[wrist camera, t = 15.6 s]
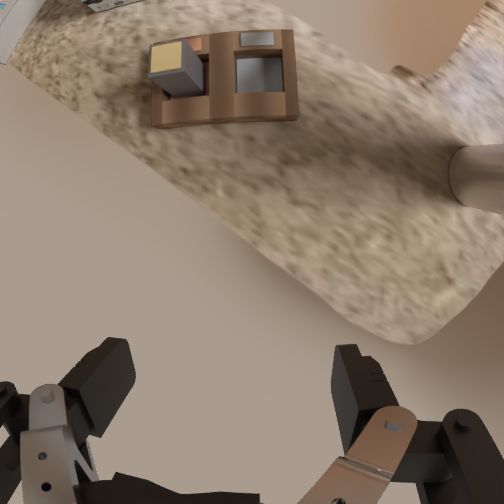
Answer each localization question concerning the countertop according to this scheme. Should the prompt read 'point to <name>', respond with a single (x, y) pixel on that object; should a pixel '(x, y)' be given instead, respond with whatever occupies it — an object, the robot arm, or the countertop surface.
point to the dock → (235, 81)
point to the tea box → (105, 4)
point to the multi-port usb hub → (15, 23)
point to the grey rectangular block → (177, 69)
